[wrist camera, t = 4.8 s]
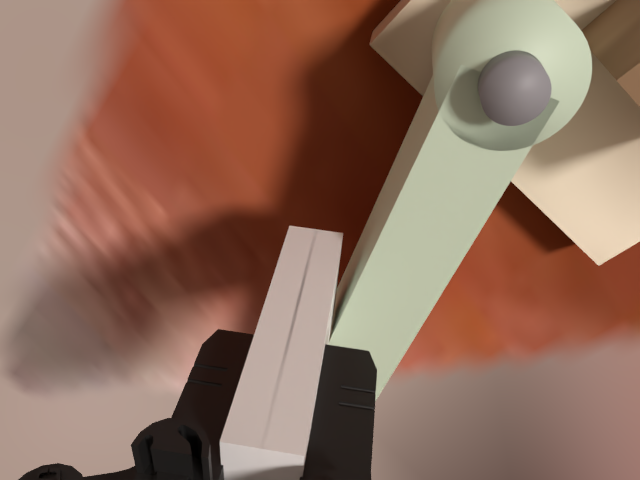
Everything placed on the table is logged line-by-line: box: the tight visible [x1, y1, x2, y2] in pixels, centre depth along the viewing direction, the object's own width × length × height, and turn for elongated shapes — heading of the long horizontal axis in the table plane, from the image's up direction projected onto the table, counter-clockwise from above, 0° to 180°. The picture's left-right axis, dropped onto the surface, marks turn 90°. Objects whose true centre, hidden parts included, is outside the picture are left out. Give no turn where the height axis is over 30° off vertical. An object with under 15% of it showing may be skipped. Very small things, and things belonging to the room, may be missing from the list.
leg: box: [328, 0, 592, 401], centre depth 14 cm, size 12×3×3 cm, turn 163°
